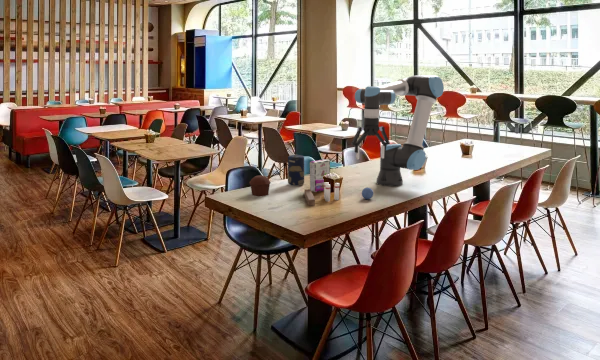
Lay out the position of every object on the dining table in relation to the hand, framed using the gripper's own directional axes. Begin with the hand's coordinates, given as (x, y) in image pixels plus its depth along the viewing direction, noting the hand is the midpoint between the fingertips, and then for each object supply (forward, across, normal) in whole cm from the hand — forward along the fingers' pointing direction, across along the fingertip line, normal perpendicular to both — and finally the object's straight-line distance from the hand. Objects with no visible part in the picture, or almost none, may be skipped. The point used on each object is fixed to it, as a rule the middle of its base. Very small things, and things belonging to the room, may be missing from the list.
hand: (370, 158), depth 271 cm
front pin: (+20, +18, +2) cm, 27 cm away
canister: (+21, +31, -36) cm, 52 cm away
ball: (+17, +2, +4) cm, 18 cm away
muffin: (+21, +55, -18) cm, 61 cm away
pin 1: (+20, +23, -2) cm, 31 cm away
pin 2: (+20, +24, +4) cm, 31 cm away
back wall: (+20, +32, 0) cm, 38 cm away
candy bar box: (+21, +21, -21) cm, 36 cm away
